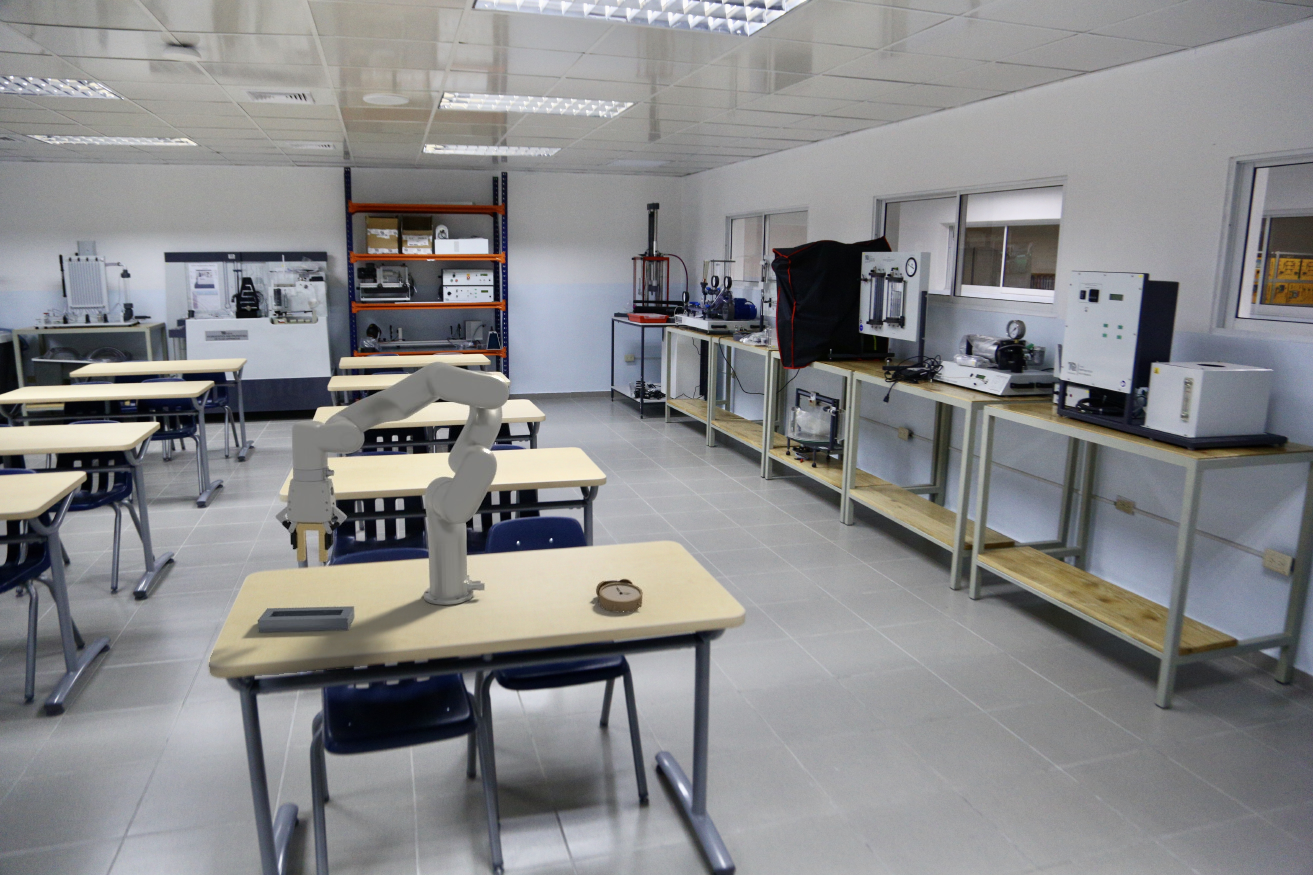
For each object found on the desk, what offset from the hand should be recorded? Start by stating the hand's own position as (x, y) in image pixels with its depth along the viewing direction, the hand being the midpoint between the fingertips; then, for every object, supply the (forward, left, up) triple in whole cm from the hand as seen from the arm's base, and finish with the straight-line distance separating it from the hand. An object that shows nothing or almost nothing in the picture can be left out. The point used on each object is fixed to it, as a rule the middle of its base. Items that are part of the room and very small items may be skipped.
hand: (312, 547), depth 200 cm
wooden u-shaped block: (0, 0, -3) cm, 3 cm away
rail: (+1, +2, -18) cm, 19 cm away
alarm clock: (-73, -8, -19) cm, 76 cm away
